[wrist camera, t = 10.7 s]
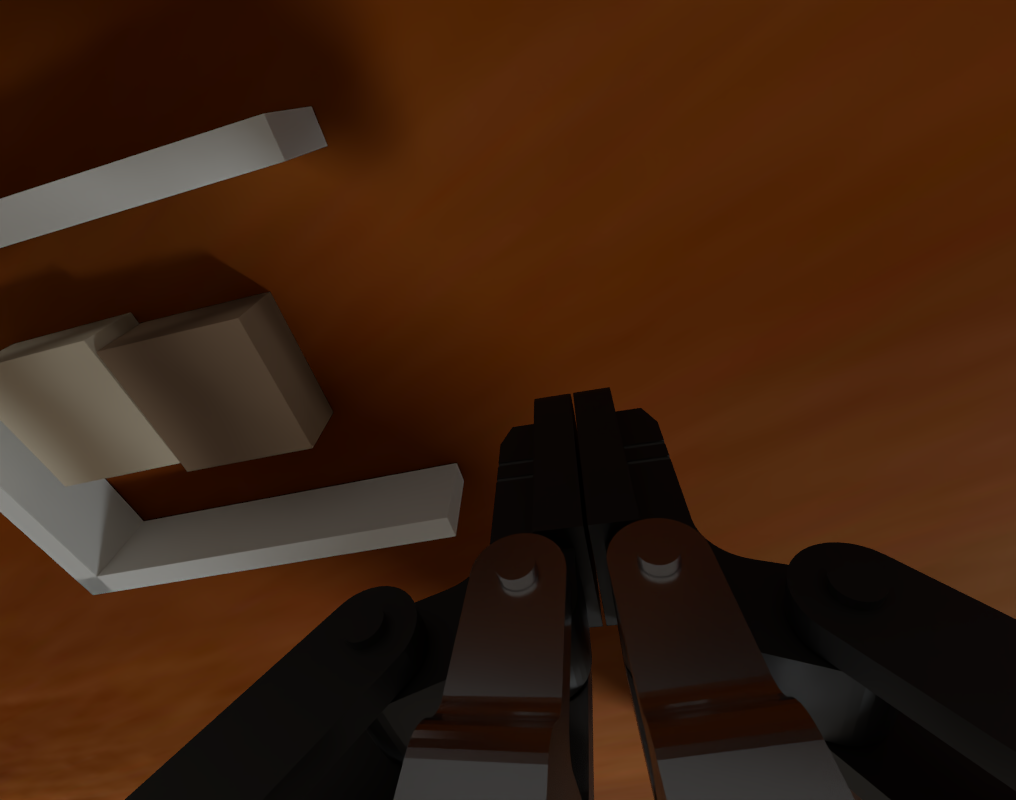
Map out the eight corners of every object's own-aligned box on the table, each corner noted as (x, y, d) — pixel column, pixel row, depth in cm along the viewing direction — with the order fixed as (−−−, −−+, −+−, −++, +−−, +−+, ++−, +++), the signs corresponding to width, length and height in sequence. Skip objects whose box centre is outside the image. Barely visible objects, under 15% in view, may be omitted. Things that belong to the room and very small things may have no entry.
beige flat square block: (273, 288, 17) (238, 317, 15) (335, 408, 20) (312, 447, 17) (146, 319, 18) (95, 352, 16) (222, 430, 20) (187, 471, 18)
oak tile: (136, 308, 18) (83, 340, 15) (216, 422, 20) (180, 462, 18) (20, 340, 18) (-45, 374, 16) (111, 445, 21) (65, 486, 19)
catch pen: (311, 106, 14) (263, 113, 11) (464, 480, 21) (455, 536, 18) (-136, 249, 16) (-257, 281, 14) (139, 539, 24) (92, 595, 21)
